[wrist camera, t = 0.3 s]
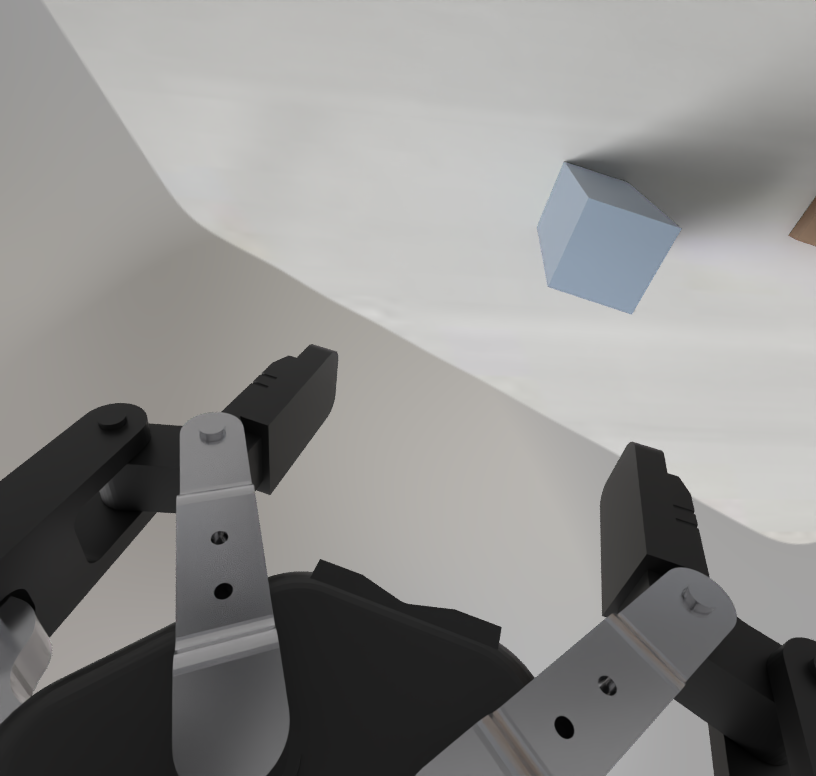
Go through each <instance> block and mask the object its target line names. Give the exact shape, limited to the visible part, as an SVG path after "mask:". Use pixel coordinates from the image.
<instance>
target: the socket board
mask: <svg viewBox="0 0 816 776" xmlns="http://www.w3.org/2000/svg"><path fill="white" fill-rule="evenodd" d="M789 236H790V237H792V238H794V239H796V240H798V241H801V242H804V243H807V244H810V245H813V246H816V197H815V199H814V200H813V202H812V203H811V204H810V206H809V207H808V209H807V210H806V211H805V213H804V214H803V216H802V217H801V218H800V220H799V221H798V223H797V224H796V226H795V227H794V228H793V230H792V231H791V233H790V234H789Z"/></svg>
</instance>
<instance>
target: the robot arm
mask: <svg viewBox="0 0 816 776" xmlns="http://www.w3.org/2000/svg"><path fill="white" fill-rule="evenodd" d="M337 368H338V354H337V352H336V351H333V350H330V349H326V348H323V347H320V346H316V345H313V344H311V345H309V346H308V347H307V348H306V349H305V350H304V351H303V352H302V353H301V354H300V355H299V356H298V357H297V358H295V357H292V356H287V357H284V358H282V359H280V360H277V361H276V362H273V363H272V364H271V365H270V366H269V367H268V368H267V369H266V370H265V371H264V372H263V373H262V375H259V376H258V377H257V378H256V379H255V380H254V381H253V384H252V383H251V384H250V385H249V386H248V387H247V388H246V389H245V390H244V391H243V392H242V393H241V394H240V395H238V396H237V397H236V398H235V399H234V400H233V401H232V402H231V403H230V404H229V405H228V406H227V407H226V408H225V409H224V410H223V411H222V412H209V413H204V414H200V415H198V416H195V417H193V418H191V419H190V420H188V421H187V422H186V423H185V424H184V425H183V426H174V425H161V424H148V419H147V415H146V413H145V412H144V410H143V409H142V408H140V407H138V406H136V405H132V404H126V403H115V404H109V405H105V406H101V407H98V408H97V409H94V410H92V411H90V412H89V413H87V414H86V415H84V416H83V417H82V418H81V419H80V420H78V421H77V422H75V423H74V424H73V425H72V426H70V427H69V428H68V429H67V430H65V431H64V432H63V433H61V434H60V435H59V436H57V437H56V438H55V439H54V440H52V441H51V442H50V443H48V444H47V445H46V446H45V447H43V448H42V449H41V450H40V451H38V452H37V453H36V454H34V455H33V456H32V457H31V458H30V459H28V460H27V461H25V462H24V463H23V464H22V465H20V466H19V467H18V468H16V469H15V470H14V471H13V472H11V473H10V474H9V475H7V476H6V477H5V478H4V479H2V480H1V481H0V776H606V775H607V773H608V772H609V771H610V770H611V769H612V768H613V766H615V764H616V763H617V762H618V761H619V760H620V759H621V758H622V756H623V755H624V754H625V753H626V752H627V751H628V750H629V749H630V747H631V746H632V745H633V744H634V743H635V742H636V741H637V739H638V738H639V737H640V736H641V735H642V734H643V732H645V730H646V729H647V728H648V727H649V726H650V725H651V724H652V723H653V721H654V720H655V719H656V718H657V717H658V716H659V715H660V713H661V712H662V711H663V710H664V709H665V708H666V707H667V705H668V704H669V703H670V702H671V701H672V700H673V699H675V700H676V701H677V702H679V703H680V704H682V705H683V706H684V707H686V708H687V709H689V710H690V711H692V712H693V713H694V714H696V715H697V716H698V717H700V718H701V719H703V720H704V721H706V722H707V723H708V726H709V735H710V744H711V751H712V760H713V769H714V776H816V641H814V640H810V639H807V638H792V639H790V640H788V641H787V642H786V643H785V644H783V645H780V644H779V643H777V642H775V641H774V640H772V639H770V638H769V637H767V636H765V635H764V634H762V633H761V632H759V631H757V630H756V629H754V628H752V627H751V626H749V625H748V624H746V623H745V622H743V621H742V620H740V619H739V618H738V617H737V614H736V610H735V607H734V605H733V603H732V601H731V599H730V598H729V596H728V595H727V593H726V592H725V591H724V590H723V589H722V588H721V587H720V586H719V585H718V584H717V583H716V582H714V581H713V580H712V579H710V577H709V573H708V568H707V564H706V559H705V555H704V551H703V547H702V542H701V537H700V533H699V529H698V528H697V525H698V524H697V520H696V515H695V514H694V506H693V503H692V498H691V494H690V492H689V491H688V490H687V488H686V487H685V485H684V484H683V482H682V481H681V479H680V478H679V477H678V476H675V475H672V474H668V473H667V468H666V463H665V457H664V453H663V451H661V450H658V449H654V448H651V447H648V446H644V445H641V444H638V443H635V442H630V443H629V444H628V445H627V446H626V448H625V450H624V451H623V453H622V455H621V457H620V459H619V460H618V462H617V464H616V466H615V468H614V469H613V471H612V473H611V475H610V477H609V478H608V480H607V482H606V484H605V486H604V489H603V492H602V496H601V501H600V522H601V525H600V526H601V527H600V528H601V575H602V576H601V578H602V616H604V617H607V618H606V619H605V620H603V621H602V622H601V623H600V624H598V625H597V626H596V627H595V628H594V629H592V630H591V631H590V632H589V633H588V634H587V635H585V636H584V637H583V638H582V639H581V640H579V641H578V642H577V643H576V644H575V645H573V646H572V647H571V648H570V649H569V650H568V651H566V652H565V653H564V654H563V655H562V656H560V657H559V658H558V659H557V660H556V661H554V662H553V663H552V664H551V665H550V666H549V667H548V668H546V669H545V670H544V671H543V672H542V673H540V674H539V675H538V676H537V677H535V678H534V676H533V675H532V674H531V672H530V671H529V670H528V669H527V667H526V666H525V665H524V664H523V663H522V662H521V661H520V660H519V659H518V658H517V657H516V656H515V655H514V654H513V653H512V652H511V651H509V650H508V649H507V648H506V647H504V646H503V645H501V644H500V643H499V640H500V633H501V627H500V626H497V625H495V624H492V623H489V622H487V621H484V620H481V619H479V618H476V617H473V616H470V615H468V614H465V613H462V612H460V611H457V610H454V609H446V608H437V607H429V606H421V605H412V604H406V603H404V602H402V601H400V600H398V599H397V598H395V597H394V596H392V595H391V594H390V593H388V592H387V591H385V590H384V589H382V588H381V587H379V586H378V585H377V584H375V583H373V582H372V581H371V580H369V579H368V578H366V577H365V576H363V575H361V574H359V573H356V572H353V571H350V570H348V569H345V568H343V567H340V566H337V565H335V564H332V563H329V562H326V561H324V560H321V559H320V560H319V562H318V564H317V566H316V568H315V570H314V571H313V572H288V573H282V574H278V575H274V576H270V577H268V576H267V569H266V563H265V556H264V549H263V543H262V536H261V530H260V523H259V517H258V509H257V502H256V496H255V491H256V490H257V491H260V492H263V493H266V494H269V495H271V493H272V492H273V491H274V489H275V488H276V487H277V485H278V484H279V482H280V481H281V480H282V478H283V477H284V476H285V474H286V473H287V472H288V470H289V469H290V467H291V466H292V465H293V463H294V462H295V461H296V459H297V458H298V457H299V455H300V453H301V452H302V451H303V450H304V448H305V447H306V446H307V444H308V443H309V441H310V440H311V439H312V437H313V436H314V435H315V433H316V432H317V430H318V429H319V428H320V426H321V425H322V424H323V422H324V421H325V420H326V418H327V417H328V415H329V414H330V412H331V409H332V407H333V404H334V400H335V393H336V381H337ZM157 512H164V513H176V622H174V623H172V624H170V625H168V626H166V627H164V628H162V629H161V630H158V631H156V632H154V633H152V634H150V635H148V636H146V637H144V638H142V639H140V640H138V641H136V642H134V643H132V644H130V645H128V646H126V647H124V648H122V649H120V650H118V651H116V652H114V653H112V654H110V655H108V656H106V657H104V658H102V659H100V660H98V661H96V662H94V663H92V664H90V665H88V666H86V667H83V668H81V669H80V670H77V671H75V672H74V673H71V674H69V675H67V676H65V677H64V678H61V679H60V680H57V681H56V682H54V683H52V684H50V685H48V686H47V687H45V688H43V689H42V690H40V691H39V692H37V693H36V694H34V695H33V696H32V694H33V691H34V690H35V688H36V686H37V684H38V681H39V680H40V678H41V677H42V675H43V674H44V672H45V670H46V669H47V667H48V665H49V663H50V659H51V655H52V644H51V641H50V639H49V637H50V636H51V635H52V634H53V633H54V632H55V630H56V629H57V628H58V627H59V626H60V625H61V624H62V622H63V621H64V620H65V619H66V618H67V617H68V615H69V614H70V613H71V612H72V611H73V610H74V608H75V607H76V606H77V605H78V604H79V603H80V601H81V600H82V599H83V598H84V597H85V596H86V594H87V593H88V592H89V591H90V590H91V588H92V587H93V586H94V585H95V584H96V583H97V582H98V580H99V579H100V578H101V577H102V576H103V575H104V573H105V572H106V571H107V570H108V569H109V568H110V566H111V565H112V564H113V563H114V562H115V561H116V559H117V558H118V557H119V556H120V555H121V554H122V553H123V551H124V550H125V549H126V548H127V546H129V544H130V543H131V542H132V541H133V539H134V538H135V537H136V536H137V535H138V534H139V533H140V531H141V530H142V529H143V528H144V527H145V525H146V524H147V523H148V522H149V521H150V520H151V518H152V517H153V516H154V515H155V514H156V513H157Z"/></svg>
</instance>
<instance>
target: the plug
mask: <svg viewBox="0 0 816 776" xmlns="http://www.w3.org/2000/svg"><path fill="white" fill-rule="evenodd" d="M681 229H682V228H680V227H679V226H678V225H677V224H676V223H675V222H673V221H672V220H671V219H670V218H669V217H668V216H667V215H665V214H664V213H663V212H662V211H661V210H660V209H658V208H657V207H656V206H655V205H654V204H653V203H651V202H650V201H649V200H648V199H647V198H646V197H644V196H643V195H642V194H641V193H640V192H639V191H637V190H636V189H635V188H634V187H633V186H632V185H630V184H629V183H628V182H625V181H622V180H619V179H616V178H613V177H610V176H607V175H604V174H601V173H598V172H595V171H592V170H589V169H586V168H583V167H580V166H577V165H574V164H570V163H567V162H564V163H563V165H562V168H561V170H560V173H559V175H558V178H557V180H556V182H555V185H554V187H553V190H552V192H551V194H550V197H549V199H548V202H547V204H546V206H545V209H544V211H543V214H542V216H541V218H540V221H539V223H538V226H537V230H538V235H539V241H540V246H541V252H542V258H543V263H544V269H545V274H546V280H547V285H548V287H550V288H553V289H556V290H559V291H562V292H565V293H568V294H571V295H574V296H577V297H580V298H583V299H586V300H589V301H592V302H596V303H599V304H602V305H605V306H608V307H611V308H614V309H617V310H620V311H623V312H626V313H629V314H632V313H633V312H634V310H635V308H636V306H637V305H638V303H639V301H640V300H641V298H642V296H643V294H644V293H645V291H646V289H647V287H648V286H649V284H650V282H651V281H652V279H653V277H654V275H655V274H656V272H657V270H658V269H659V267H660V265H661V263H662V262H663V260H664V258H665V256H666V255H667V253H668V251H669V250H670V248H671V246H672V244H673V243H674V241H675V239H676V238H677V236H678V234H679V232H680V231H681Z"/></svg>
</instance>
